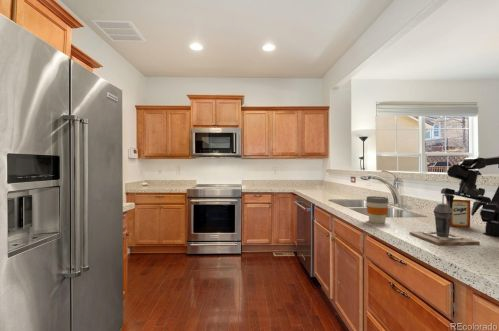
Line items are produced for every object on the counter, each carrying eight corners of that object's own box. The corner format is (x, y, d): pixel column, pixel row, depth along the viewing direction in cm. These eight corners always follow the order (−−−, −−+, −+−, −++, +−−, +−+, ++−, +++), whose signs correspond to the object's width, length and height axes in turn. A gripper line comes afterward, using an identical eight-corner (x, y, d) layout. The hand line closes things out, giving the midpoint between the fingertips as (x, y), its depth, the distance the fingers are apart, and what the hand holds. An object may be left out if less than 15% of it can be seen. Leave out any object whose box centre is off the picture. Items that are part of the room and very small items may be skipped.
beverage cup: (433, 236, 123) (433, 195, 123) (433, 233, 129) (434, 193, 129) (452, 239, 119) (452, 196, 118) (452, 235, 124) (452, 194, 124)
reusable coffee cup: (368, 223, 156) (368, 198, 156) (364, 218, 168) (364, 195, 168) (391, 224, 153) (391, 199, 153) (385, 219, 165) (385, 196, 165)
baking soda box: (465, 225, 153) (465, 198, 152) (470, 227, 147) (470, 199, 146) (446, 223, 156) (446, 197, 156) (449, 226, 150) (450, 198, 150)
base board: (445, 233, 134) (445, 229, 134) (479, 244, 116) (479, 239, 116) (409, 234, 132) (409, 230, 132) (438, 245, 114) (438, 240, 114)
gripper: (453, 176, 123) (445, 207, 123) (501, 186, 117) (493, 219, 116) (443, 177, 134) (436, 206, 133) (487, 187, 127) (480, 217, 127)
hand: (461, 212), depth 127 cm, fingers open, 9 cm apart
